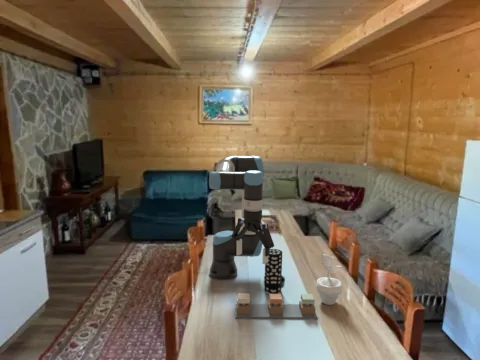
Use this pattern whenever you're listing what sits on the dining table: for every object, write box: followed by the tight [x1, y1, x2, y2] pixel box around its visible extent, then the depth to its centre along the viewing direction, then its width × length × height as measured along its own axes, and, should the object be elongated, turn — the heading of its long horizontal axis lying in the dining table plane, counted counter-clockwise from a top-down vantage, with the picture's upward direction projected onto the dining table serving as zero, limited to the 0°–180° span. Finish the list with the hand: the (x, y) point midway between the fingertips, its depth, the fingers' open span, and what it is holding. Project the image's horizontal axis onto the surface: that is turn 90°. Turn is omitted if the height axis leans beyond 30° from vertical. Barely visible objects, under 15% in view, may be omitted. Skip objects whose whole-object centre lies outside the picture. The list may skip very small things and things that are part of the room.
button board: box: [235, 300, 319, 320], centre depth 161 cm, size 11×35×4 cm, turn 91°
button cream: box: [237, 293, 251, 306], centre depth 161 cm, size 5×5×5 cm
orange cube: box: [269, 293, 283, 306], centre depth 161 cm, size 5×5×5 cm
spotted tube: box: [263, 248, 283, 295], centre depth 181 cm, size 8×8×20 cm
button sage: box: [300, 293, 315, 306], centre depth 161 cm, size 5×5×5 cm
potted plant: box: [315, 252, 343, 306], centre depth 169 cm, size 13×12×25 cm
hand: (251, 258), depth 152 cm, fingers open, 13 cm apart
